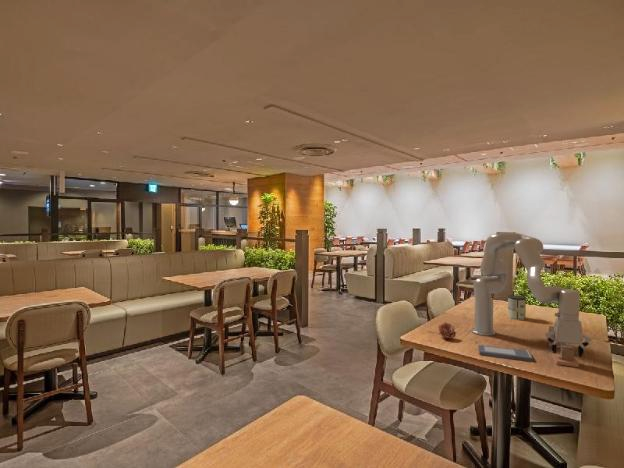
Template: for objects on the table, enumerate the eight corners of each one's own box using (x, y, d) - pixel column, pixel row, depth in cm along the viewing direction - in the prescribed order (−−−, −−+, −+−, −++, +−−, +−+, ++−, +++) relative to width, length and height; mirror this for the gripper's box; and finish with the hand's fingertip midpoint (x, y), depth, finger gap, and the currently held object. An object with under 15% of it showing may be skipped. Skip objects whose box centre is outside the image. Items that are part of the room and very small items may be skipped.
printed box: (548, 344, 186) (549, 325, 185) (564, 347, 182) (565, 327, 181) (548, 346, 183) (549, 327, 182) (564, 349, 179) (565, 329, 178)
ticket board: (478, 347, 180) (478, 344, 180) (528, 354, 172) (528, 350, 172) (479, 354, 171) (479, 351, 171) (532, 361, 163) (532, 357, 163)
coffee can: (512, 315, 243) (512, 294, 242) (528, 318, 234) (529, 297, 234) (504, 317, 237) (504, 296, 236) (520, 321, 228) (521, 299, 228)
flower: (432, 332, 199) (436, 323, 194) (444, 327, 203) (449, 318, 198) (444, 346, 192) (448, 337, 188) (456, 341, 196) (461, 332, 191)
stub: (551, 356, 169) (551, 342, 168) (571, 358, 166) (572, 345, 165) (556, 364, 159) (557, 349, 159) (578, 367, 156) (579, 352, 156)
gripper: (547, 317, 161) (546, 354, 162) (594, 321, 155) (593, 360, 155) (544, 312, 168) (542, 348, 169) (588, 316, 162) (587, 354, 162)
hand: (566, 354), depth 162 cm, fingers open, 9 cm apart
